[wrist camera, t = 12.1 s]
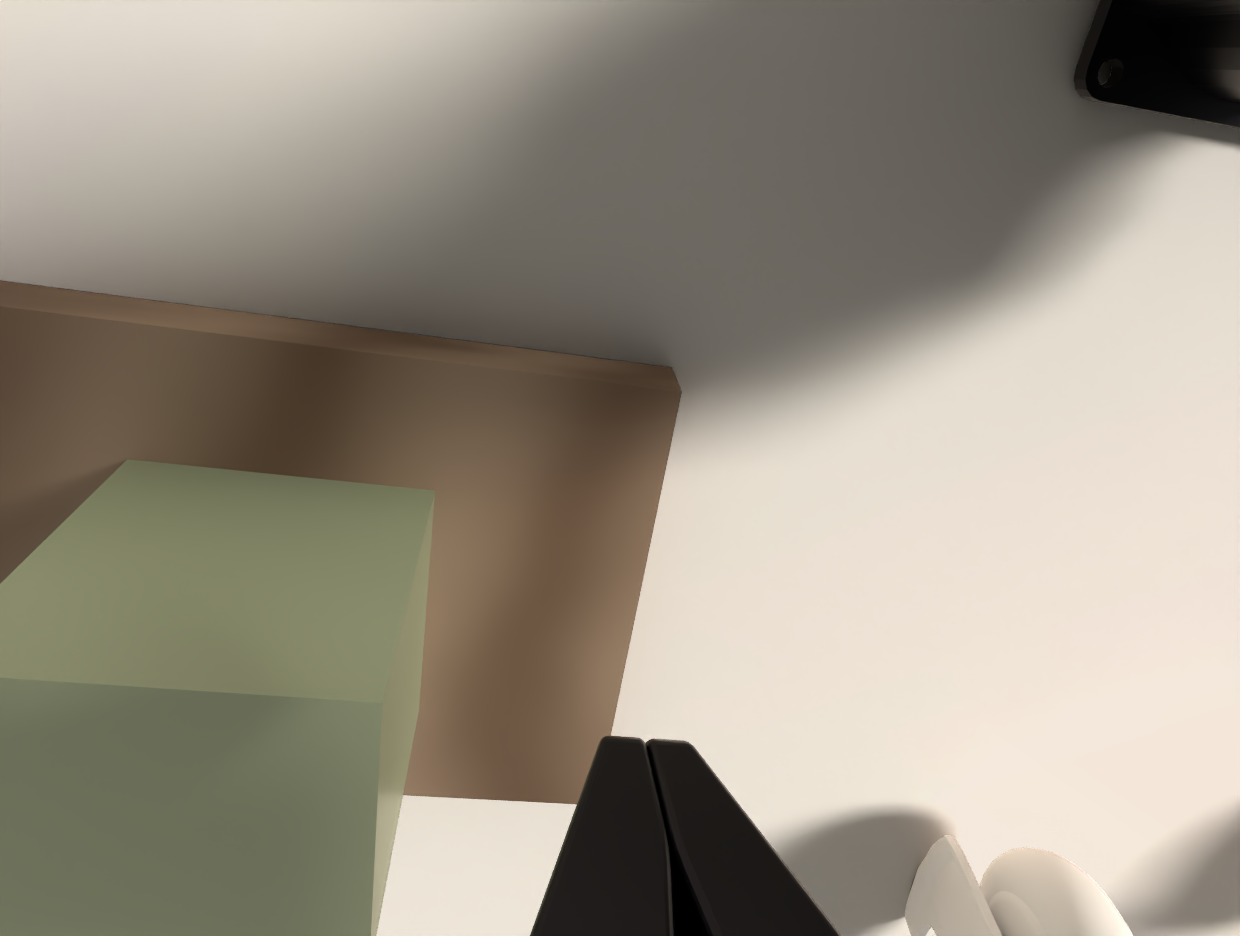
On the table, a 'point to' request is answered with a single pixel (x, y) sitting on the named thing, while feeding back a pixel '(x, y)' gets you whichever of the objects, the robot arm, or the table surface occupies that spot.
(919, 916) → the headset
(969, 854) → the table surface
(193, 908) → the sage green cube
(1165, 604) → the table surface
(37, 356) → the brown rectangular block
